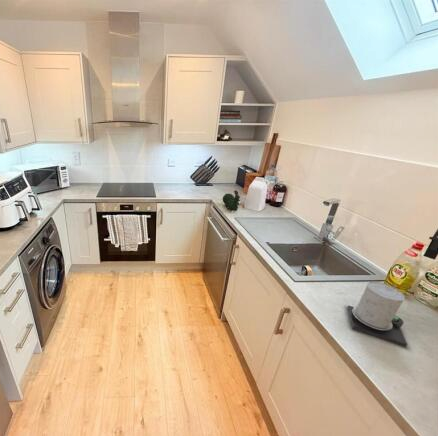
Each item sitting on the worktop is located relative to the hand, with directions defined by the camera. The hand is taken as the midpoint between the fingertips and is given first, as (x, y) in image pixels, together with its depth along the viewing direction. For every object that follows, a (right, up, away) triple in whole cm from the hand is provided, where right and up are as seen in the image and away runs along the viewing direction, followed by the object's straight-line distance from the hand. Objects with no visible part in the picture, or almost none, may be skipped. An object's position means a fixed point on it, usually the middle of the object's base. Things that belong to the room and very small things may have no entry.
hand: (435, 252), depth 83 cm
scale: (-19, -28, +3) cm, 34 cm away
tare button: (-12, -25, +3) cm, 28 cm away
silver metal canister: (-20, -24, +3) cm, 32 cm away
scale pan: (-20, -25, +3) cm, 32 cm away
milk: (-13, +21, +114) cm, 117 cm away
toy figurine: (-34, +20, +113) cm, 120 cm away
